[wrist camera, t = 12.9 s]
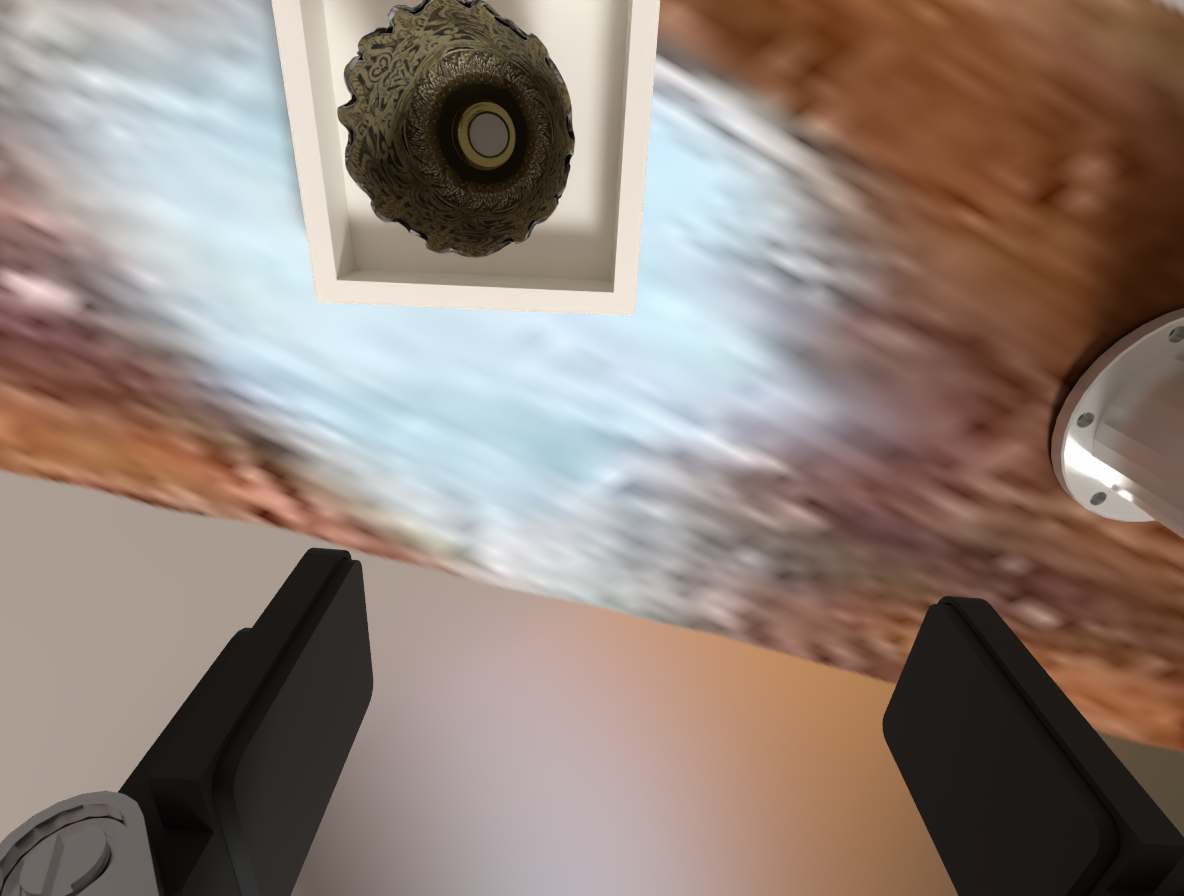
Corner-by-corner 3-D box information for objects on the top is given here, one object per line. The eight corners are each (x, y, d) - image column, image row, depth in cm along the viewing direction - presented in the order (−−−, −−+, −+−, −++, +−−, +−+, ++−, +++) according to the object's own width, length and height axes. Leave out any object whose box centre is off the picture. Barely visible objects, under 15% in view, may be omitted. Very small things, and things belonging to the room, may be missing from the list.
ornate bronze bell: (609, 111, 26) (621, 104, 19) (517, 258, 29) (498, 300, 22) (455, -13, 24) (405, -71, 17) (371, 158, 27) (297, 167, 20)
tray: (656, -58, 24) (666, -82, 22) (629, 299, 31) (634, 315, 28) (292, -83, 24) (254, -112, 21) (340, 286, 30) (316, 302, 27)
